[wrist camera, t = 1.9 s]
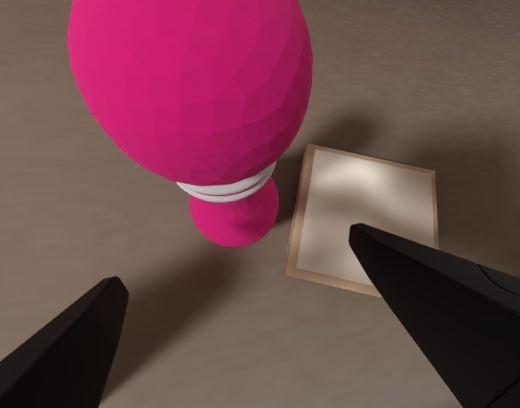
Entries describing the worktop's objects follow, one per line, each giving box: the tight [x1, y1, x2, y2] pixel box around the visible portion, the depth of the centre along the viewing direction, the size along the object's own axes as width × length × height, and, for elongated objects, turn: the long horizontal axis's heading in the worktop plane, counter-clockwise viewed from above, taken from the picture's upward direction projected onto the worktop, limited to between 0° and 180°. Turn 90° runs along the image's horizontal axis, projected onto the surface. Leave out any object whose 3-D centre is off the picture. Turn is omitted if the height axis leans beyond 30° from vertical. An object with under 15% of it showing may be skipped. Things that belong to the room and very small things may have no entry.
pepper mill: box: [67, 0, 313, 247], centre depth 11 cm, size 7×7×20 cm
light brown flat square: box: [283, 144, 439, 298], centre depth 20 cm, size 14×14×2 cm
